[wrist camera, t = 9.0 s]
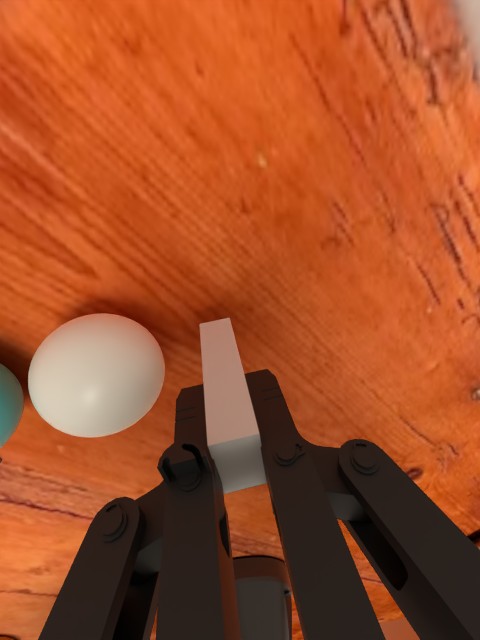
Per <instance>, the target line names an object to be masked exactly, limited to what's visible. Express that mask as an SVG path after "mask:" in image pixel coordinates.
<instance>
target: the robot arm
mask: <svg viewBox="0 0 480 640" xmlns="http://www.w3.org/2000/svg"><path fill="white" fill-rule="evenodd" d="M200 339H201V354H202V369H203V384H201V385H197V386H192V387H188V388H184V389H182V390H181V392H180V394H179V396H178V398H177V400H176V417H175V421H176V423H175V437H174V444H172V445H171V446H170V447H169V448H167V449H166V450H165V452H164V453H163V454H162V456H161V457H160V460H159V463H158V467H157V468H158V470H159V472H160V474H161V475H162V477H163V479H164V480H163V482H162V483H161V484H160V485H158V486H157V487H156V488H154V489H153V490H151V491H150V492H148V493H146V494H145V495H143V496H141V497H140V498H138V499H136V500H135V501H134V500H133V499H132V498H128V497H121V498H116V499H114V500H112V501H111V502H109V503H107V504H106V505H105V506H104V507H103V508H102V509H101V510H100V511H99V512H98V513H97V514H96V516H95V518H94V519H93V521H92V523H91V524H90V526H89V529H88V531H87V533H86V535H85V537H84V540H83V542H82V544H81V546H80V548H79V551H78V553H77V555H76V557H75V559H74V562H73V564H72V566H71V568H70V570H69V573H68V575H67V577H66V579H65V581H64V584H63V586H62V588H61V590H60V592H59V595H58V597H57V599H56V601H55V603H54V606H53V608H52V610H51V612H50V614H49V617H48V619H47V621H46V623H45V625H44V628H43V630H42V632H41V634H40V636H39V639H38V640H150V636H151V632H152V628H153V623H154V619H155V615H156V610H157V606H158V614H157V630H156V640H292V604H291V587H292V591H293V595H294V599H295V604H296V608H297V612H298V616H299V621H300V625H301V629H302V633H303V637H304V640H386V639H385V637H384V634H383V632H382V629H381V627H380V625H379V622H378V620H377V617H376V615H375V612H374V610H373V607H372V605H371V602H370V600H369V597H368V595H367V592H366V590H365V588H364V585H363V583H362V580H361V578H360V575H359V573H358V570H357V568H356V565H355V563H354V561H353V558H352V556H351V553H350V551H349V548H348V546H347V543H346V541H345V538H344V536H343V533H342V531H341V529H340V526H339V524H338V521H337V519H340V520H342V522H343V523H344V525H345V526H346V528H347V529H348V531H349V532H350V534H351V535H352V537H353V538H354V540H355V541H356V543H357V544H358V546H359V547H360V549H361V550H362V552H363V553H364V555H365V556H366V558H367V560H368V561H369V563H370V564H371V566H372V567H373V569H374V570H375V572H376V573H377V575H378V576H379V578H380V579H381V581H382V582H383V584H384V585H385V587H386V588H387V590H388V591H389V593H390V594H391V596H392V597H393V599H394V600H395V602H396V603H397V605H398V606H399V608H400V610H401V611H402V613H403V614H404V616H405V617H406V618H407V620H408V622H409V623H410V625H411V626H412V628H413V629H414V631H415V632H416V634H417V635H418V637H419V638H420V640H480V549H479V548H478V547H477V546H476V545H475V544H474V543H473V542H472V541H471V540H470V539H469V538H468V537H467V536H466V535H465V534H464V533H463V532H462V531H461V530H460V529H459V528H458V527H457V526H456V525H455V524H454V523H453V522H452V521H451V520H450V519H449V518H448V517H447V516H446V515H445V513H444V512H443V511H442V510H441V509H440V508H439V507H438V506H437V505H436V504H435V503H434V502H433V501H432V500H431V499H430V498H429V497H428V496H427V495H426V494H425V493H424V492H423V491H422V490H421V489H420V488H419V487H418V486H417V485H416V484H415V483H414V482H413V481H412V480H411V479H410V478H409V476H408V475H407V474H406V473H405V472H404V471H403V470H402V469H401V468H400V467H399V466H398V465H397V464H396V463H395V462H394V461H393V460H392V459H391V458H390V457H389V456H388V455H387V454H386V453H385V452H384V451H383V450H382V449H381V448H379V447H378V446H377V445H376V444H374V443H372V442H369V441H367V440H364V439H353V440H349V441H347V442H345V443H344V444H343V445H342V446H341V448H332V447H322V446H316V445H314V444H311V443H309V442H308V441H306V440H305V439H303V438H302V436H301V435H300V434H299V433H298V431H297V429H296V427H295V424H294V422H293V419H292V417H291V414H290V412H289V409H288V407H287V404H286V402H285V399H284V397H283V394H282V392H281V389H280V387H279V384H278V381H277V379H276V377H275V376H274V375H273V374H272V373H271V372H270V371H269V370H268V369H265V370H260V371H256V372H251V373H247V374H244V371H243V367H242V364H241V360H240V356H239V352H238V348H237V344H236V340H235V336H234V332H233V328H232V325H231V321H230V318H225V319H220V320H215V321H211V322H206V323H201V324H200ZM266 483H267V484H268V488H269V492H270V497H271V503H272V508H273V514H274V515H275V519H276V524H277V528H278V532H279V536H280V541H281V545H282V549H283V553H284V557H285V562H286V565H285V564H284V563H283V562H282V561H280V560H277V559H273V558H266V557H251V558H241V559H235V560H233V559H232V550H231V541H230V532H229V523H228V514H227V511H226V508H225V504H224V495H223V491H224V494H226V493H230V492H234V491H238V490H242V489H246V488H250V487H254V486H258V485H262V484H266ZM286 566H287V567H286ZM287 570H288V571H287ZM288 574H289V576H288ZM289 578H290V580H289ZM290 583H291V584H290Z"/></svg>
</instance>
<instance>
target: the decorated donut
mask: <svg viewBox="0 0 480 640" xmlns="http://www.w3.org/2000/svg"><path fill="white" fill-rule="evenodd" d="M0 640H15V639H13V638H9V637H5V636H2V637H0Z"/></svg>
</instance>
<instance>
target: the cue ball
mask: <svg viewBox="0 0 480 640" xmlns="http://www.w3.org/2000/svg"><path fill="white" fill-rule="evenodd" d="M164 377H165V363H164V357H163V354H162V351H161V349H160V346H159V344H158V342H157V341H156V339H155V338H154V337H153V335H152V334H151V333H150V332H149V331H148V330H147V329H146V328H144V327H143V326H142V325H140V324H139V323H137V322H135V321H134V320H132V319H129V318H127V317H124V316H120V315H115V314H107V313H99V314H90V315H84V316H81V317H78V318H75V319H73V320H70V321H68V322H66V323H64V324H63V325H61V326H59V327H58V328H57V329H55V330H54V331H53V332H51V333H50V334H49V335H48V336H47V337H46V338H45V339H44V341H43V342H42V343H41V344H40V346H39V347H38V349H37V351H36V352H35V354H34V356H33V359H32V361H31V364H30V368H29V373H28V389H29V394H30V397H31V400H32V403H33V405H34V407H35V408H36V410H37V411H38V413H39V414H40V416H41V417H42V418H43V419H44V420H45V421H46V422H47V423H49V424H50V425H51V426H53V427H54V428H56V429H58V430H60V431H62V432H64V433H67V434H70V435H73V436H78V437H103V436H108V435H111V434H115V433H118V432H120V431H122V430H125V429H127V428H128V427H130V426H132V425H133V424H135V423H136V422H138V421H139V420H140V419H141V418H142V417H143V416H144V415H145V414H146V413H147V412H148V411H149V410H150V409H151V408H152V406H153V405H154V403H155V402H156V400H157V398H158V396H159V394H160V392H161V389H162V386H163V383H164Z"/></svg>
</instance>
